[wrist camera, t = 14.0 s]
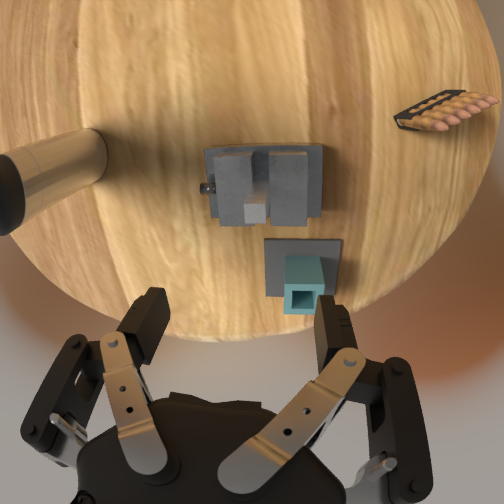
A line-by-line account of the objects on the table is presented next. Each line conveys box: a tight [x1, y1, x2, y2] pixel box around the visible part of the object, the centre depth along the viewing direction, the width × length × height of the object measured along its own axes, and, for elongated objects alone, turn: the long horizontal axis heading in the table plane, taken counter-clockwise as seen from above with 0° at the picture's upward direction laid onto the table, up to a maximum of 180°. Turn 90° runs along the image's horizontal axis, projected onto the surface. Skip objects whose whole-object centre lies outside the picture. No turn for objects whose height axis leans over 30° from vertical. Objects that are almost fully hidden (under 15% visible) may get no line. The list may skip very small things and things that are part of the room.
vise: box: [200, 143, 323, 226], centre depth 29 cm, size 14×9×14 cm, turn 93°
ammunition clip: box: [393, 90, 499, 131], centre depth 21 cm, size 11×2×12 cm, turn 125°
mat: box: [264, 238, 341, 297], centre depth 40 cm, size 11×10×1 cm
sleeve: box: [284, 256, 325, 315], centre depth 37 cm, size 5×5×7 cm
